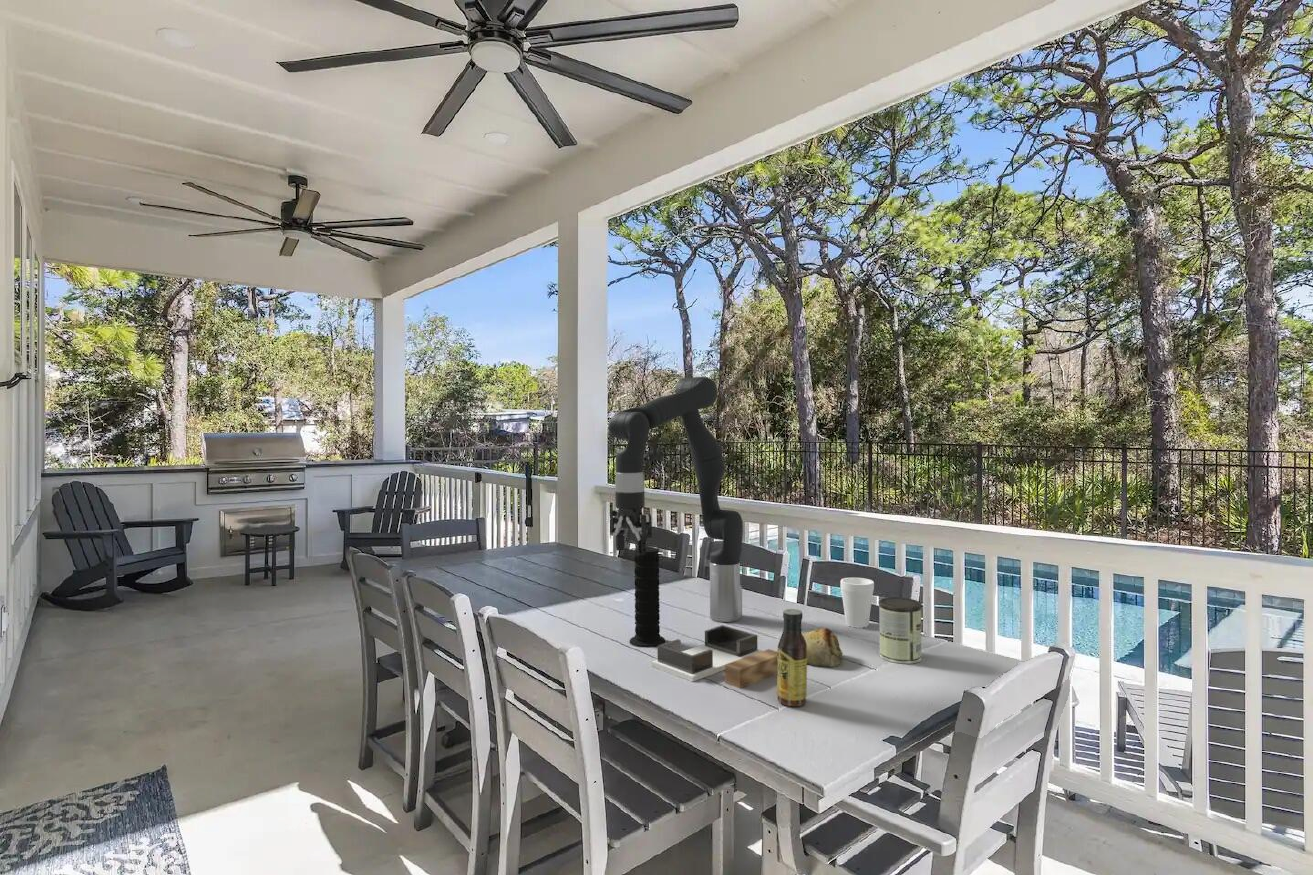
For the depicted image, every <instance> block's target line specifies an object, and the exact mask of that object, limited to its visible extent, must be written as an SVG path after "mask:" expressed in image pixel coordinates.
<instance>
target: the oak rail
mask: <svg viewBox="0 0 1313 875" xmlns="http://www.w3.org/2000/svg"><path fill="white" fill-rule="evenodd" d="M777 656H778V650H777V651H776V650H775V649H771V648H770V649H769V648H768V649H765V650H763V651H762V652H759V653H757V654H754V655H751V656H748V657H745V658H743V659H740V660H737V661H734V662H732V663H729V664H726V665H725V670H724V683H725V684H727V685H730V686H731V687H735V688H738V689H743V688H745V687H747V686H749V685H752V684H754V683H757V682H760V681H763V680H764V679H767V678H769V677H772V676H775V675H777Z"/></svg>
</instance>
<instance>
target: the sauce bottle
mask: <svg viewBox="0 0 1313 875" xmlns="http://www.w3.org/2000/svg"><path fill="white" fill-rule="evenodd" d="M782 618H783V630H782V633H781V636H780V639H779V641H778V644H777V652H778V656H777V674H776V677H777V678H776V681H777V682H776V683H777V684H776V685H777V686H776V690H777V691H776V694H777V701H778V702H779V703H780V704H782V705H784V707H785V706H786V707H793V708H794V707H801V706H803V705H804V706H805V704H806V700H807V693H808V692H807V690H808V689H807V686H808V676H807V674H808V664H807V644H806V641H805V639H804V637H803V635H802V634H803V630H802V620H803V611H802V610H799V609H796V608H788V609H784V610H783V613H782Z"/></svg>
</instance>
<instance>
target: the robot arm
mask: <svg viewBox="0 0 1313 875" xmlns="http://www.w3.org/2000/svg"><path fill="white" fill-rule="evenodd" d="M674 389H675V390H674V391H675V393H672V394H668V395H663V396H660V397H657V398H654V399H652V400H649V401H648V402H645V403H644V404H641V405H639V406H636V407H632V408H627V409H624V410H620V411H618V412H616V413H614V414H613V415H612V417H611V418H610V420H609V423H608V430H609V433H610V434H611V436H613V438H616V439H618V440H628V441H627V444H626V447H625V448H622V449H618V450H617V452H615V453H616V454H615V480H614V483H615V484H614V488H615V489H614V492H615V496H614V497H615V498H614V499H615V501H614V502H615V508H616V509H613V510H610V512H609V532H610V534H613V535H614V536H615V548H616V549H615V550H616V551H617V552H618V551H624V550H625V533H626V531H627V530H630V531H631V532H632V533H633V534H635V537H636V539H637V541H636V548H637V554H638V555H644V554H645V553H646V546H647V540H648V539H652V537H653V529H652V528H653V527H652V515H651V514H650V513H648V514H643V509H644V508H645V503H646V502H645V501H646V500H645V499H646V498H645V497H646V495H645V476H644V475H645V474H644V454H645V450H646V445H647V441H648V438H649V434H650V430H653V429H656V428H659V427H660V426H662V425H664V424H665V423H667V422H670V421H672V420H673V419H676V418H678V417H681V419H682V422H683V425H684V429H685V433H686V437H687V441H688V446H689V449H690V456H691V461H692V466H693V470H694V474H695V477H696V483H697V487H698V493H699V494H698V495H699V499H700V508H701V517H702V524H703V525H702V526H703V529H704V531H705V532H704V533H705V534H706V535H707V537H708V538H710V539H713V540H720V541H722V545H721V548H720V549H717V550H714V551H711V552H710V554H709V618H710V619H711V620H712V621H715V622H721V623H730V622H737V621H740V620H741V618H742V617H743V587H742V585H741V555H742V550H743V533H744V525H743V518H742V516H741V514H740V513H739V512H738V511H736V510H731V509H721V508H720V502H719V498H718V496H719V494H718V492H719V488H720V486H721V483H722V481H723V478H724V476H725V475H724V474H725V471H726V465H725V460H724V455H723V451H722V448H721V445H720V443H719V442H718V440H717V439H716V437H715V436H714V435H713V434H712V433H711V431H710V430H709V429H708V428H707V426H706V425H705V423H704V422H703V420H702V417H701V414H700V410H703V409H707V408H709V407H712V406H713V405H714V404H715V403H716V400H717V397H718V388H717V385H716V383H715V381H714V380H713V379H712V378H710V377H707V376H693V377H683V378H681V379H680V378H679V380H678V381H677V382H676V384H675V388H674Z"/></svg>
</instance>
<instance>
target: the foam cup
mask: <svg viewBox="0 0 1313 875" xmlns="http://www.w3.org/2000/svg"><path fill="white" fill-rule="evenodd" d="M874 582H875V581H873V580H872V579H869V578H865V577H844V578H841V579H840V589H841V598H842V605H843V612H844V618H845V619H844V620H845V625H846V624H847V625H848V626H847V625H846V626H847V627H849V626H851V627H850V628H853V627H859V628H858V629H864V628H863V627H866V628H868V627H869V623H870V617H871V615H870V614H871V609H872V602H873V596H874V595H873V593H874V590H875V583H874ZM867 626H868V627H867Z"/></svg>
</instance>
